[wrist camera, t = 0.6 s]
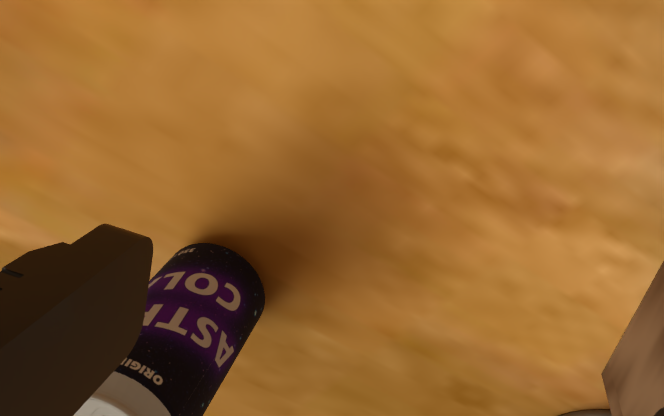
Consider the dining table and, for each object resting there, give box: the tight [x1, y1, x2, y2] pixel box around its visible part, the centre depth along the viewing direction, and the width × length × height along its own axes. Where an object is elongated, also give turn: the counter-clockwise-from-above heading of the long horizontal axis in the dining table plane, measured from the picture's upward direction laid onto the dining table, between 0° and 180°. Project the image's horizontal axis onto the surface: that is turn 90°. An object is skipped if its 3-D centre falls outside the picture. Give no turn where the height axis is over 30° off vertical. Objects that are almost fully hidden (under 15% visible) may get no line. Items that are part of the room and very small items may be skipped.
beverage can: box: [73, 243, 265, 416], centre depth 28 cm, size 6×6×12 cm
